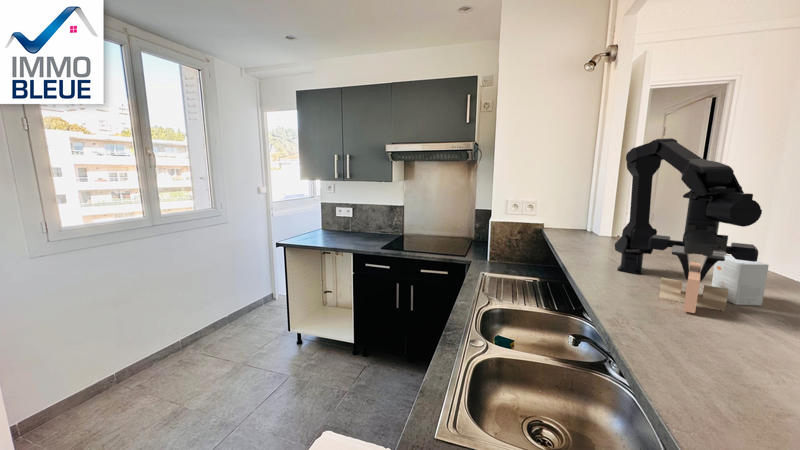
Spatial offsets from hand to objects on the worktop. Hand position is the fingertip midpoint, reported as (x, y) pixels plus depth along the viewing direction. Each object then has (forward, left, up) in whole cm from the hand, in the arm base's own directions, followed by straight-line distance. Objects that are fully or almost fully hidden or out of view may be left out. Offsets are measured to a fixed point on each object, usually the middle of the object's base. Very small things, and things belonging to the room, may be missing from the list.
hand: (693, 280), depth 76 cm
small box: (-10, +8, -6) cm, 14 cm away
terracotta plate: (0, 0, -5) cm, 5 cm away
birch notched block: (0, 0, -6) cm, 6 cm away
